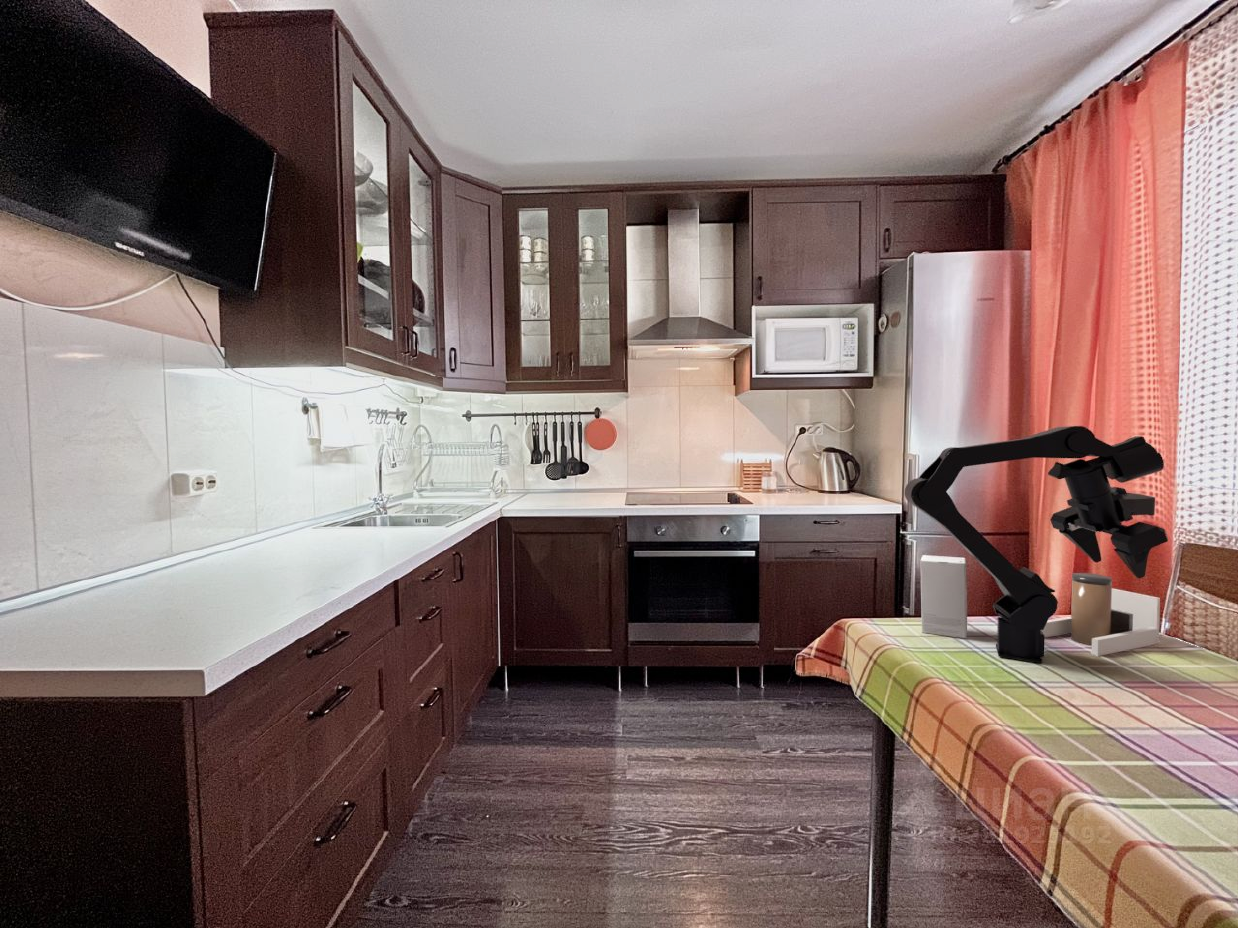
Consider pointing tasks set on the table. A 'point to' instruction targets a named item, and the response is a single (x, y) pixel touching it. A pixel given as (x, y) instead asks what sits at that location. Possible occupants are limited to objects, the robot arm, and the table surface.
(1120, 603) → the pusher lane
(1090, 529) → the robot arm
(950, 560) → the skincare box
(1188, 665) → the table surface
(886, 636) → the table surface
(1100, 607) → the jar
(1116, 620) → the pusher paddle
